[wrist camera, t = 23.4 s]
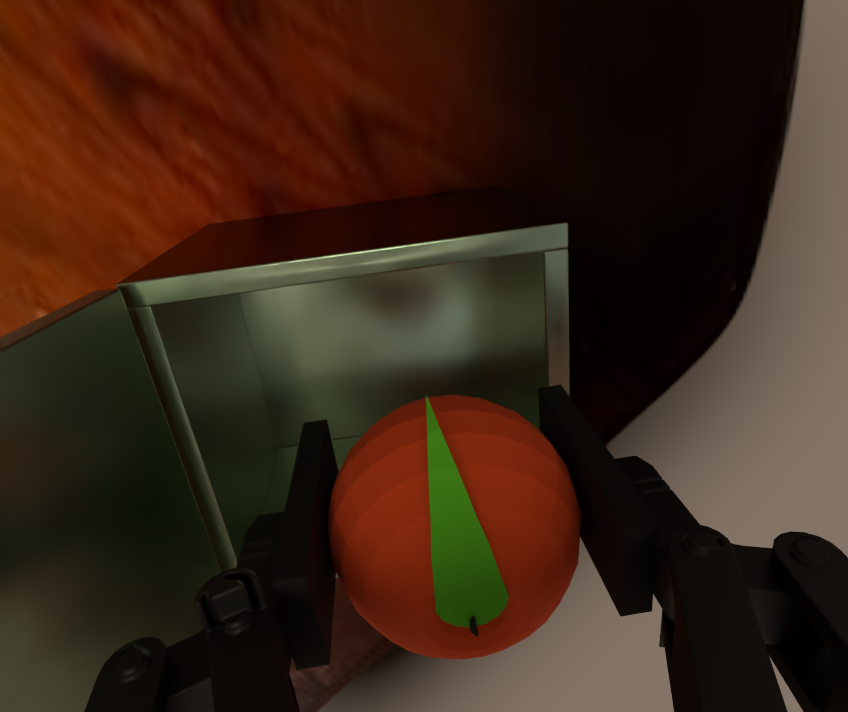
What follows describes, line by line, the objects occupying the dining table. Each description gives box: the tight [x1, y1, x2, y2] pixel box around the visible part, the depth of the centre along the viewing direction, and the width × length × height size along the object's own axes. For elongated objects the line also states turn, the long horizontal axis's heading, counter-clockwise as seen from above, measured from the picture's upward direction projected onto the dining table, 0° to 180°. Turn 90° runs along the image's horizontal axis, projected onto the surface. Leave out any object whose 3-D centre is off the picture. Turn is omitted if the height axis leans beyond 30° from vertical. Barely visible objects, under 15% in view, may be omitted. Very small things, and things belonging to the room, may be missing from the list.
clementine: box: [328, 395, 581, 659], centre depth 15 cm, size 8×7×7 cm
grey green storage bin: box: [116, 186, 569, 578], centre depth 23 cm, size 14×13×10 cm
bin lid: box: [0, 289, 221, 712], centre depth 12 cm, size 14×13×1 cm
